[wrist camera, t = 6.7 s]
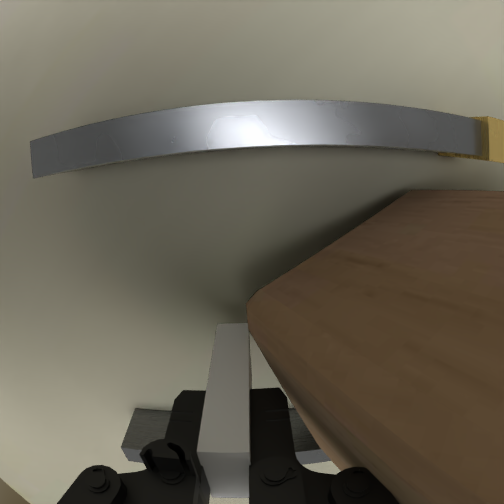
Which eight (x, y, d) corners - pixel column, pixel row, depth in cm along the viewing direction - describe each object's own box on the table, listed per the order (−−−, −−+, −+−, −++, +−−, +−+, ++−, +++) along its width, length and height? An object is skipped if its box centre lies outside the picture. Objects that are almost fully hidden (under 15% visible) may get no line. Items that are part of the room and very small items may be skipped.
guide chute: (72, 138, 12) (22, 138, 9) (454, 123, 12) (505, 121, 8) (141, 424, 18) (127, 467, 14) (412, 403, 18) (433, 442, 14)
